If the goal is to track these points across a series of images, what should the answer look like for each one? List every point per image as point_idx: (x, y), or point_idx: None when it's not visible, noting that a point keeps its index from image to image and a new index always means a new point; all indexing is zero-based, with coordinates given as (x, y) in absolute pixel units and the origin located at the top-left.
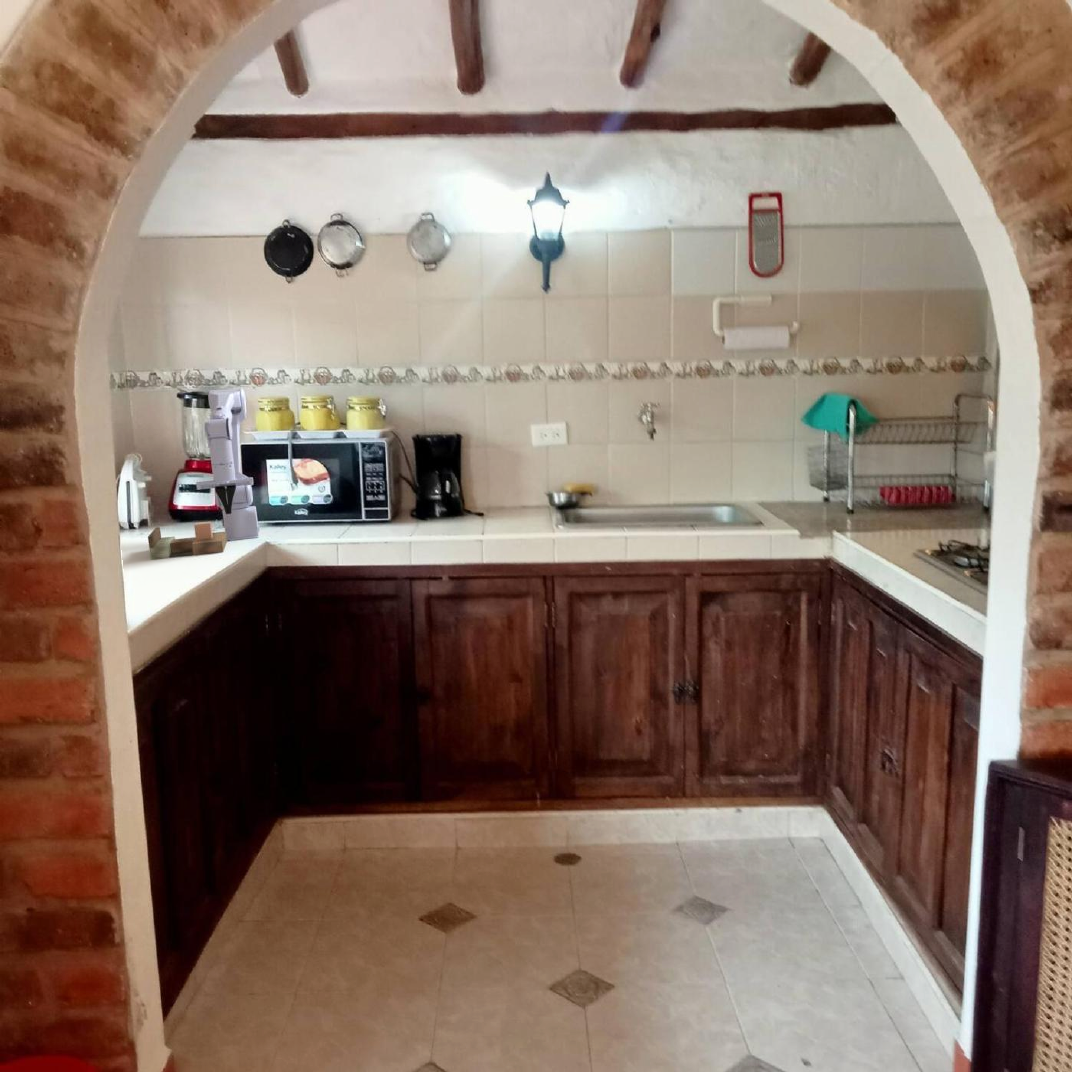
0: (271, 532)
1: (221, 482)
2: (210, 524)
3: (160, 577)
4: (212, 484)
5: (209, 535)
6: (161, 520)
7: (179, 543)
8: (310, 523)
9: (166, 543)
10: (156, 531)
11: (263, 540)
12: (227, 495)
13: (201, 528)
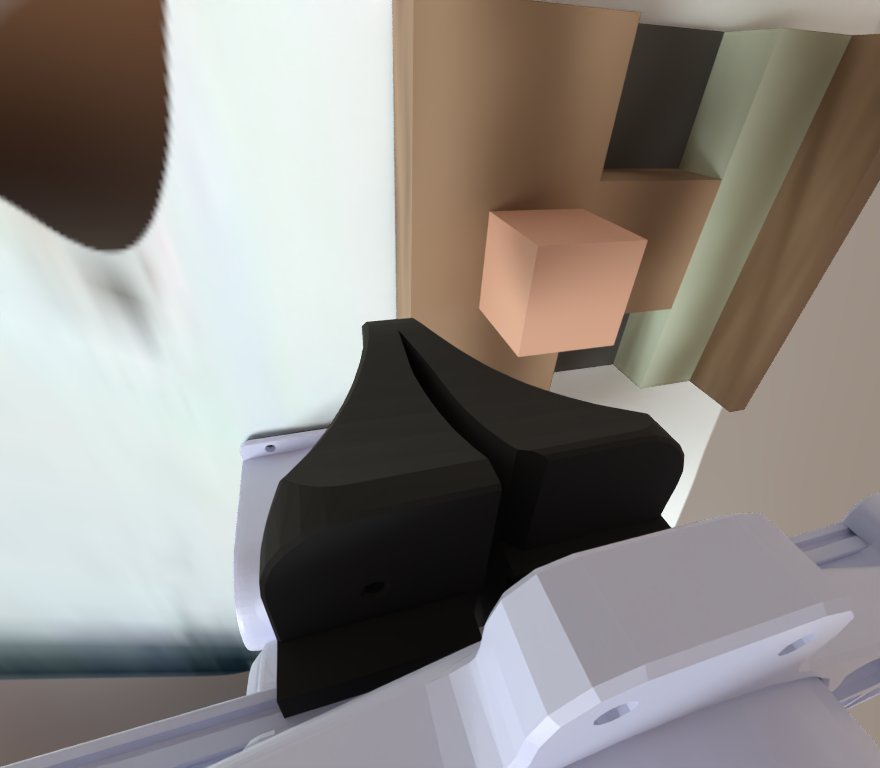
0: (210, 549)
1: (801, 573)
2: (523, 290)
3: None
4: (835, 571)
5: (509, 216)
6: None
7: (671, 177)
8: (68, 672)
9: (738, 179)
10: (797, 288)
11: (182, 374)
12: (430, 418)
13: (584, 232)
